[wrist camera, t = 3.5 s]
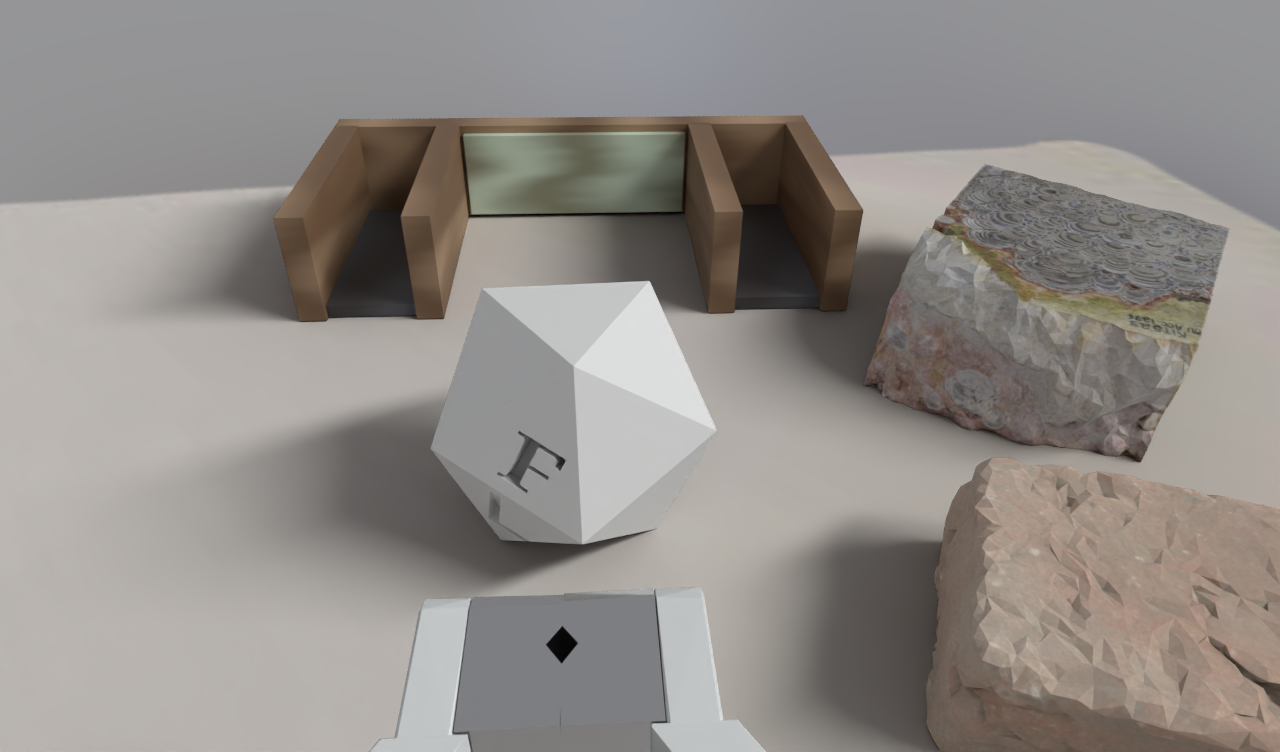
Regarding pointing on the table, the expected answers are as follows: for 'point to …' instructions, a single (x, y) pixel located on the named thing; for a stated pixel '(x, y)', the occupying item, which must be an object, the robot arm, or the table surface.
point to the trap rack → (566, 204)
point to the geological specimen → (1049, 314)
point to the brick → (1104, 617)
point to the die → (571, 412)
